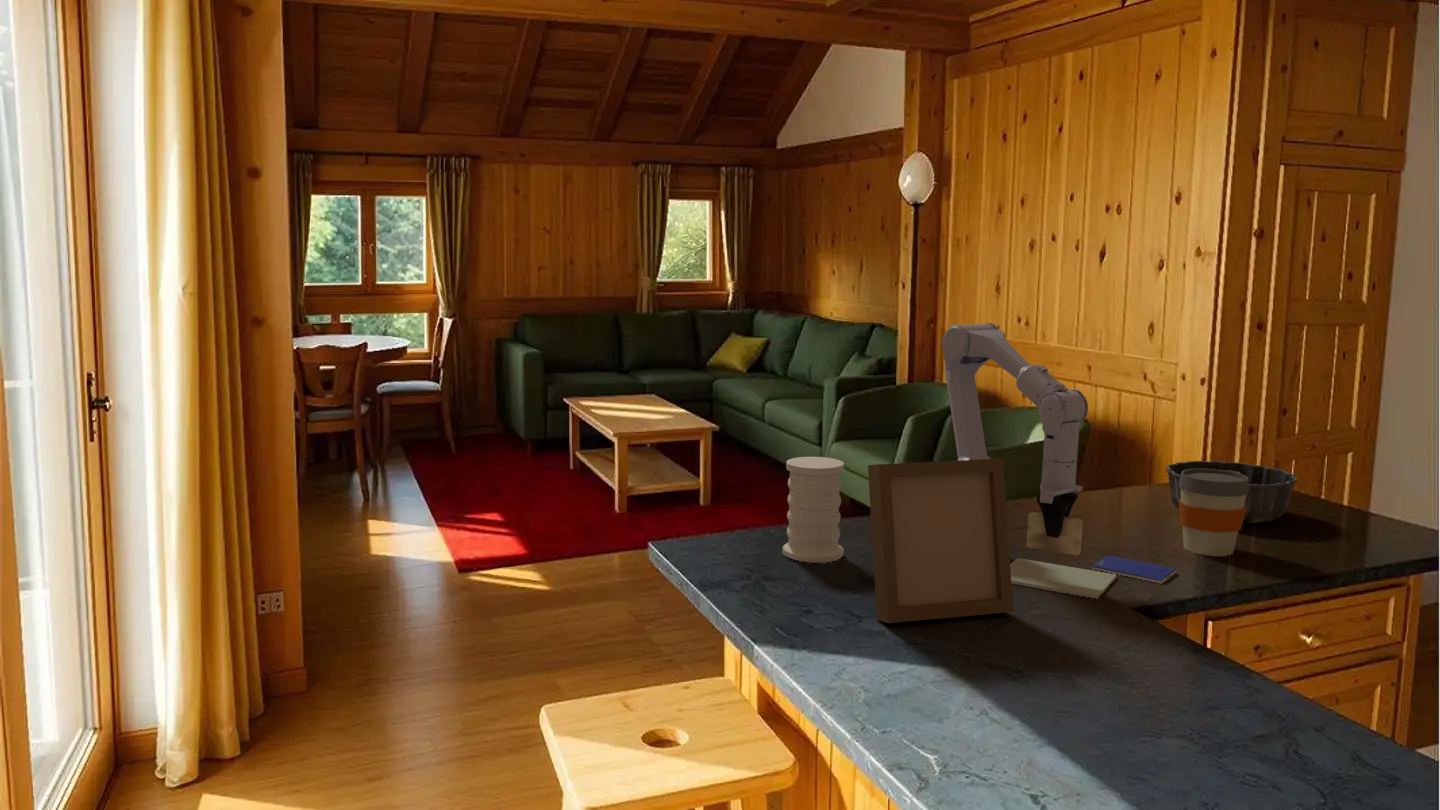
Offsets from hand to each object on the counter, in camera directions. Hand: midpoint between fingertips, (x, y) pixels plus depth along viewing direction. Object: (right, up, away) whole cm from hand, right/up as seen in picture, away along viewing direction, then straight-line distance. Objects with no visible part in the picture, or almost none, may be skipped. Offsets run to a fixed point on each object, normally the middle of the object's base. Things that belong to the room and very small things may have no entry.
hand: (1055, 534), depth 194 cm
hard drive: (+17, -8, +8) cm, 20 cm away
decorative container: (-41, -6, +16) cm, 45 cm away
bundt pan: (+53, -2, +50) cm, 73 cm away
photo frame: (-25, -11, -13) cm, 30 cm away
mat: (+1, -8, +3) cm, 9 cm away
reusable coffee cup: (+37, -6, +22) cm, 44 cm away
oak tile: (0, -3, 0) cm, 3 cm away
